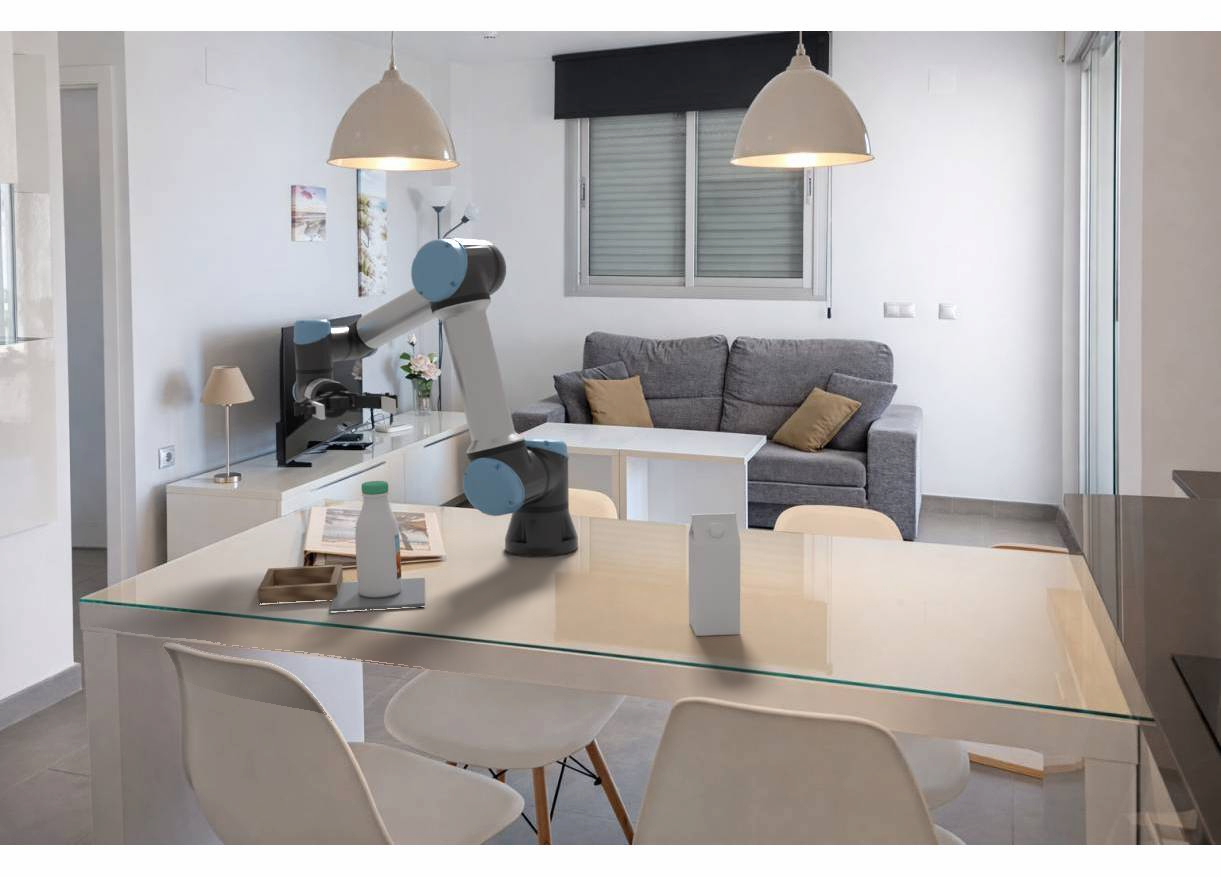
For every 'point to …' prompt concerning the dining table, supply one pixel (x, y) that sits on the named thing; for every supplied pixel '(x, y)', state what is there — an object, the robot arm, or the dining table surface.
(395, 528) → the milk bottle
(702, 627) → the milk carton
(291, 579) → the tray
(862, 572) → the dining table surface
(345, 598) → the trivet
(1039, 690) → the dining table surface
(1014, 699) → the dining table surface
